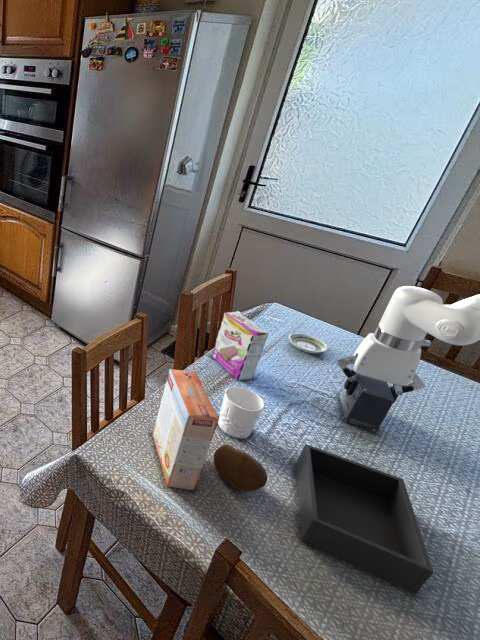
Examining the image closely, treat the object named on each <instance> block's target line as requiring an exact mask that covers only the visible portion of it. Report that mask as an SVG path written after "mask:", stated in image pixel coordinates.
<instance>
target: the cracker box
mask: <svg viewBox="0 0 480 640" xmlns="http://www.w3.org/2000/svg"><path fill="white" fill-rule="evenodd" d="M218 421H219V417H218V414H217V413H216V410H215V409H214V406H213V404H212V402H211V400H210V398H209V396H208V394H207V391H206V389H205V388H204V386H203V383H202V381H201V379H200V376H199V375H198V373H197V371H192V370H184V369H183V370H181V369H174V368H173V369H172V368H169V371H168V374H167V378H166V382H165V386H164V390H163V393H162V398H161V401H160V405H159V409H158V413H157V417H156V420H155V425H154V428H153V432H152V438H153V441H154V445H155V448H156V451H157V456H158V459H159V462H160V466H161V469H162V473H163V477H164V480H165V484H166V486H167V487H169V488H175V489H176V488H177V489H182V490H190V491H195V490H196V487H197V484H198V481H199V479H200V475H201V472H202V470H203V466H204V464H205V461H206V458H207V455H208V452H209V450H210V446H211V444H212V441H213V438H214V435H215V433H216V429H217V427H218V425H219V424H218Z"/></svg>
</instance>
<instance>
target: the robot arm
mask: <svg viewBox="0 0 480 640" xmlns="http://www.w3.org/2000/svg"><path fill="white" fill-rule="evenodd" d="M428 334H429V335H430V336H432V337H434V338H435V339H437V340H439V341H442V342H444V343H446V344H450V345H454V346H469V345H472V344H475V343H477V342H478V341H480V294H476V295H473V296H470V297H467V298H465V299H461V300H458V301H457V302H454V303H452V304H444V301H443V297H441V296H440V295H439V294H437V293H436V292H434V291H432V290H429V289H426V288H422V287H418V286H412V285H404V286H399V287H398V288H396V289H395V290H394V292H393V293H392V295H391V298H390V300H389V301H388V305H387V306H386V309H385V310H384V312H383V314H382V317H381V318H380V320H379V323H378V325H377V327H376V328H375V331H374V333H373V332H370V333H368V334H367V335H366V336H365V338H364V339H363V340H362V341H361V342H360V343H359V346H358V347H357V348H356V350H355V352H353V355H351V356H347V357H344V358H339V359H337V360H336V362H337V365H338V367H339V368H340V369H341V371H342V372H343V374H344V375H345V376H346V377H347V378H346V380H345V382H344V384H343V389H346V391H347V395H352V393H353V391H354V389H355V387H356V385H357V382H356V380H358V379H359V378H361V377H363V376H367V377H370V378H374V379H377V380H381V381H385V382H387V383H389V384H392V385H390V386H389V388H390V391H391V393H392V396H393V398H394V403H393V404H395V403H396V401H397V400H398V398H399V396H403V394H406V393H411V392H414V391H415V390H421V389H425V388H426V384H425V382H424V381H423V380H422V379H421V378H420V377H419V375H418V374H417V370H418V368H419V363H420V360H421V356H422V347H430V346H431V345H432V340H428V339H426V338H425V337H426V336H427V335H428ZM348 365H353V368H352V369H350V367H349V366H348Z"/></svg>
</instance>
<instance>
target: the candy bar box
mask: <svg viewBox="0 0 480 640" xmlns="http://www.w3.org/2000/svg"><path fill="white" fill-rule="evenodd" d="M268 336H269V332H267V330H265V329H264V328H262V327H261V326H260V325H258V324H257V323H255V322H254V321H253V320H251V319H250V318H249V317H247V316H246V315H245V314H243V313H242V312H240V311H239V310H237V311H236V310H235V311H230V312H229V311H227V312H224V313H223V317H222V320H221V323H220V326H219V330H218V333H217V337H216V340H215V343H214V347H213V350H212V352H211V353H212V354H211V357H212V358H213V359H214V360H215V361H216V362H217V363H218V364H220V365H221V366H222V367H223V368H224V369H225V370H226V371H227V372H228V373H229V374H230V375H232V377H234V378H235V379H236V380H237V381H243V380H251V379H253V378H254V375H255V372H256V370H257V367H258V364H259V361H260V358H261V355H262V352H263V349H264V346H265V344H266V342H267V338H268Z"/></svg>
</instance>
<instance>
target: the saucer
mask: <svg viewBox="0 0 480 640" xmlns="http://www.w3.org/2000/svg"><path fill="white" fill-rule="evenodd" d="M288 341H289V342H290V343H291V345H292V346H293V347H294V348H296V349H298V350H300V351H301V352H302V351H303V352H304V353H310V354H323V353H325V352H327V351H328V346H327V344H326V342H324V341H322V340H321V339H319V338H317V337H315V336H312V335H309V334H305V333H300V332H299V333H295V332H294V333H290V334H289V335H288Z"/></svg>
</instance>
